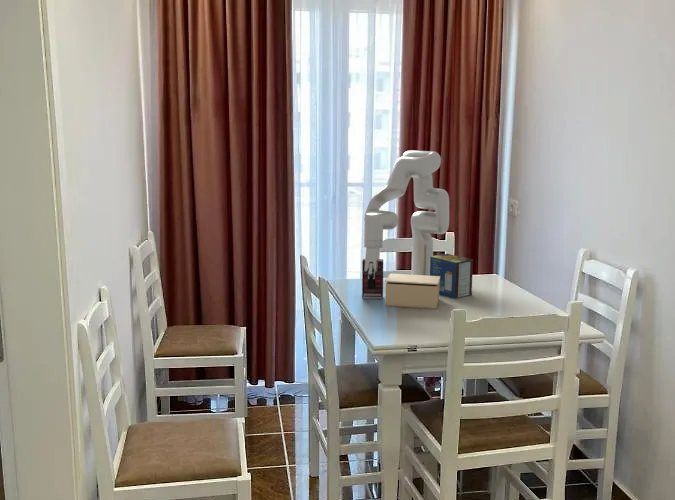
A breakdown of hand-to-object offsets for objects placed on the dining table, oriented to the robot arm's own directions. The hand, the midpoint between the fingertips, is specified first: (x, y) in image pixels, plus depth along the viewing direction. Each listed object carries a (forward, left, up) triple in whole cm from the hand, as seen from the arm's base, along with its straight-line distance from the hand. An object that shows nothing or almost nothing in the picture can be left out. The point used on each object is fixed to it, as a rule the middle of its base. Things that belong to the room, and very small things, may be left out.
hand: (372, 286), depth 280 cm
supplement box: (0, 0, -5) cm, 5 cm away
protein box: (-15, +31, -5) cm, 35 cm away
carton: (+4, +17, -5) cm, 18 cm away
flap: (+4, +17, +5) cm, 18 cm away
